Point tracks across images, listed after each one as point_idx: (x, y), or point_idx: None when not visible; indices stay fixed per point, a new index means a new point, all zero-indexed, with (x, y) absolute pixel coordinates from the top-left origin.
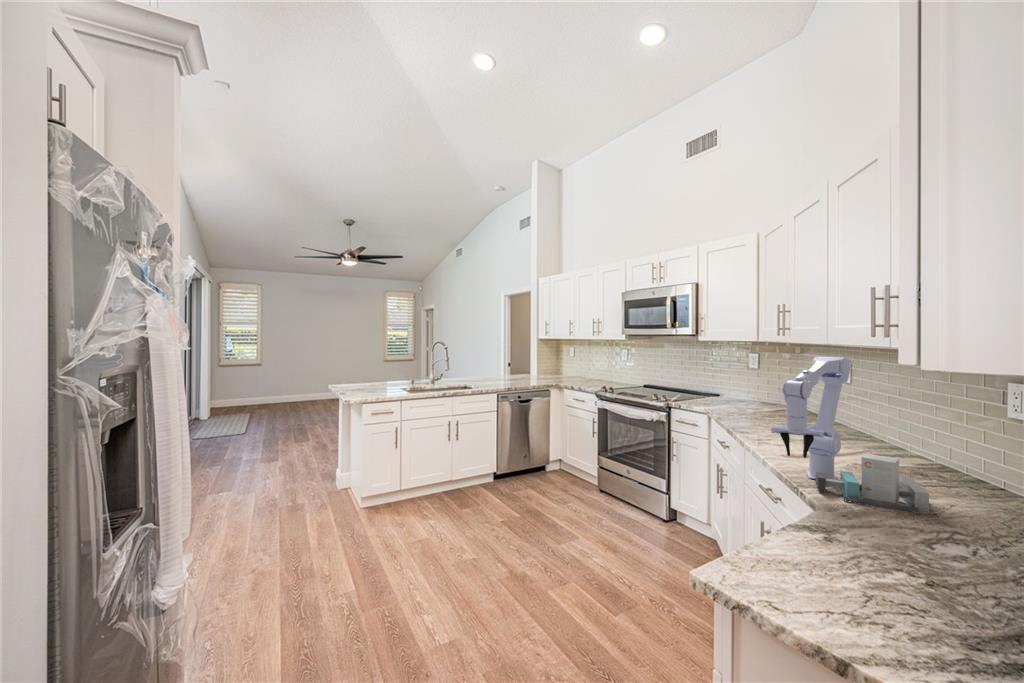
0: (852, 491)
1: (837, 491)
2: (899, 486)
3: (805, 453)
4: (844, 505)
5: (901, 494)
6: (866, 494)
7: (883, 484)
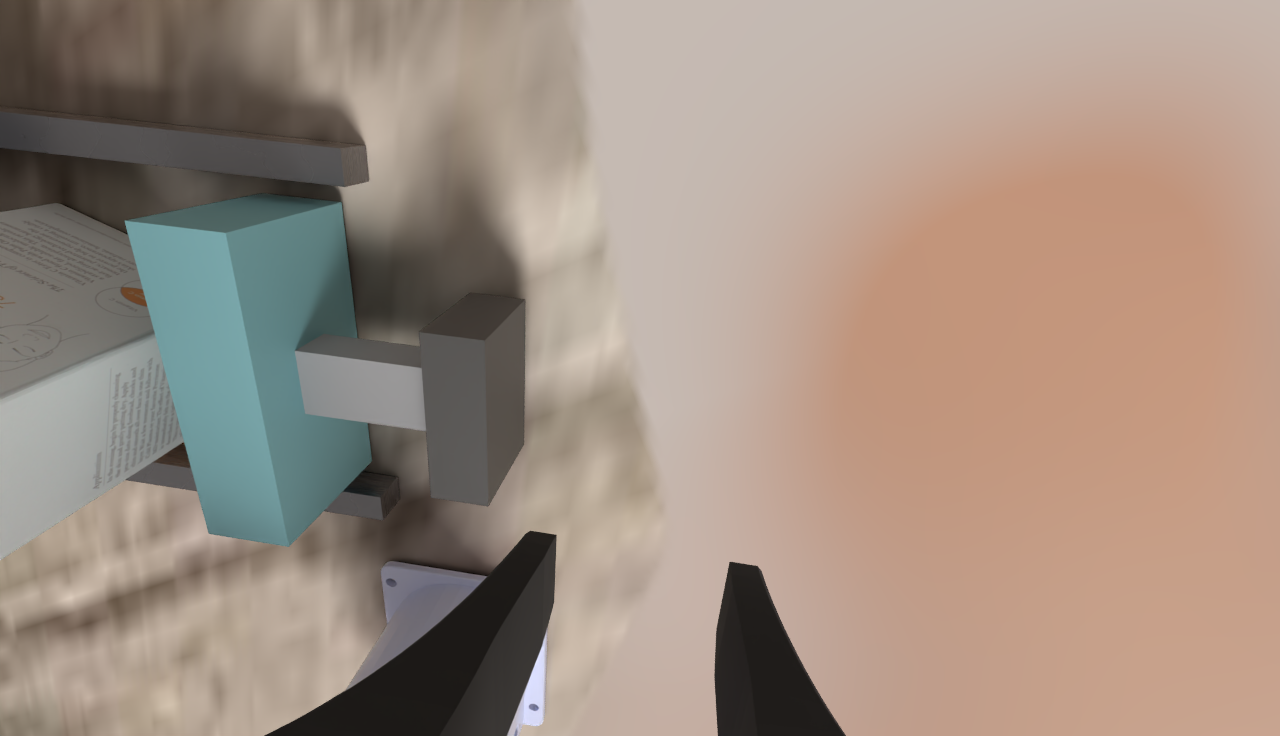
0: (254, 210)
1: None
2: None
3: (515, 570)
4: (367, 23)
5: None
6: None
7: None
